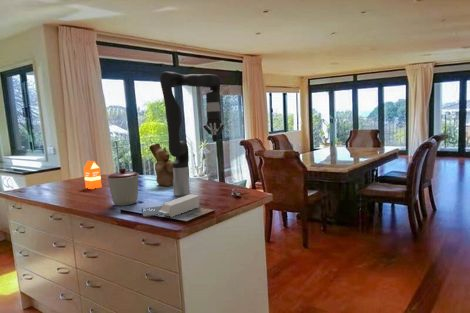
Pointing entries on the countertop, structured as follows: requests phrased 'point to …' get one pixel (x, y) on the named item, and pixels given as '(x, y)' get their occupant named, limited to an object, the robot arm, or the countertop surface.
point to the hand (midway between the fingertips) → (215, 141)
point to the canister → (123, 187)
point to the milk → (180, 205)
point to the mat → (152, 213)
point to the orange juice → (92, 175)
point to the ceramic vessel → (162, 165)
